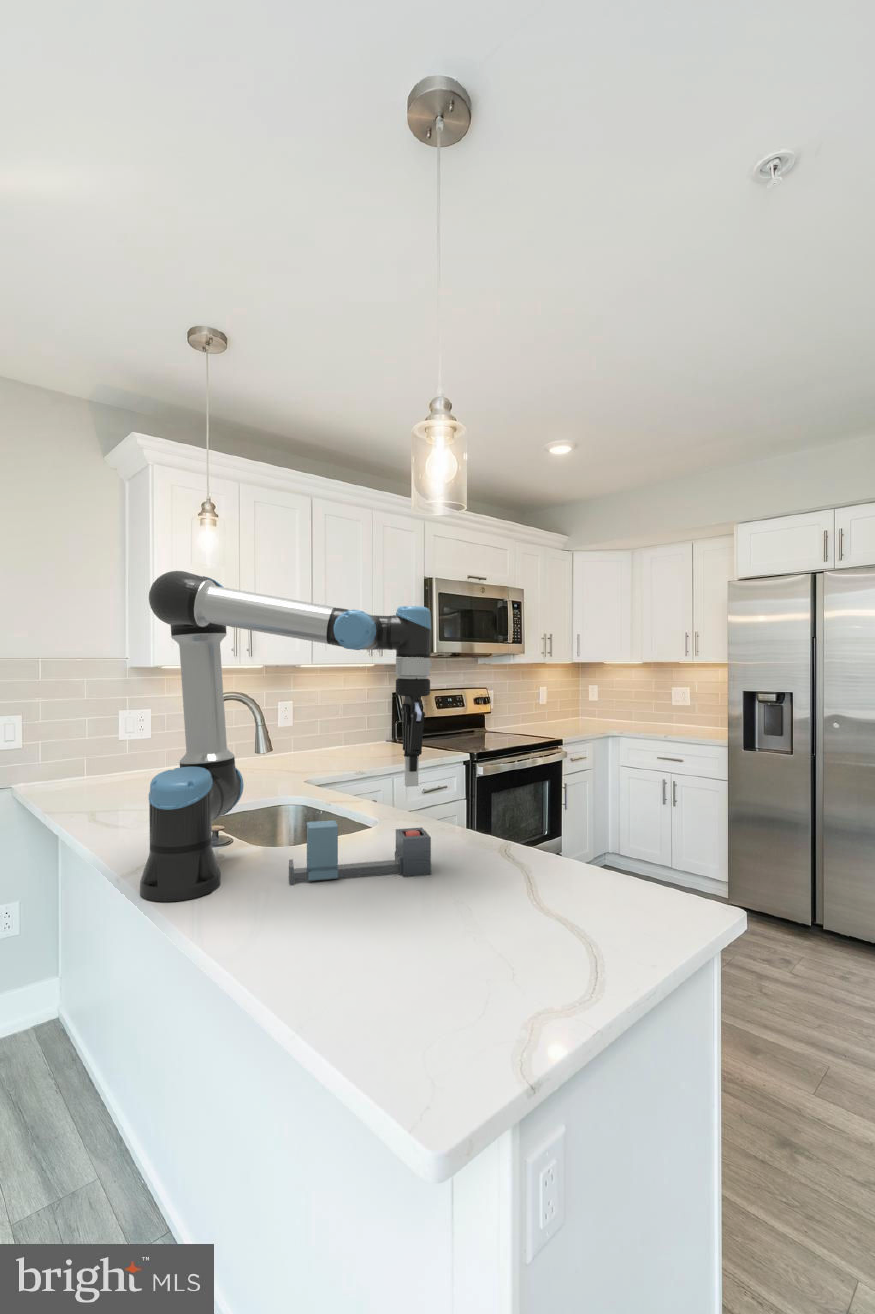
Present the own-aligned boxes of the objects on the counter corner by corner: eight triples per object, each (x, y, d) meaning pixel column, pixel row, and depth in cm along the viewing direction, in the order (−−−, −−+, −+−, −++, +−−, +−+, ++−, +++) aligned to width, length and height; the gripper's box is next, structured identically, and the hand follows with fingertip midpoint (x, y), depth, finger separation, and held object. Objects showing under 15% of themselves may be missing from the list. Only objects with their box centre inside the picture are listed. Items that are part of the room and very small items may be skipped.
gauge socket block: (403, 877, 135) (403, 839, 135) (395, 865, 143) (395, 829, 143) (430, 874, 137) (430, 837, 137) (421, 862, 145) (421, 827, 145)
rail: (289, 885, 131) (289, 867, 131) (288, 876, 135) (288, 859, 135) (403, 874, 137) (403, 857, 137) (398, 867, 142) (398, 850, 142)
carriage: (308, 880, 132) (308, 828, 132) (306, 872, 136) (306, 822, 136) (337, 878, 133) (337, 826, 133) (335, 870, 138) (335, 820, 138)
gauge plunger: (407, 862, 138) (407, 834, 138) (404, 858, 141) (404, 830, 141) (421, 861, 139) (421, 833, 139) (417, 856, 142) (417, 829, 142)
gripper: (437, 678, 134) (435, 791, 135) (422, 676, 147) (421, 779, 147) (402, 678, 132) (400, 792, 133) (390, 676, 145) (388, 780, 145)
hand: (411, 785), depth 140 cm, fingers closed
